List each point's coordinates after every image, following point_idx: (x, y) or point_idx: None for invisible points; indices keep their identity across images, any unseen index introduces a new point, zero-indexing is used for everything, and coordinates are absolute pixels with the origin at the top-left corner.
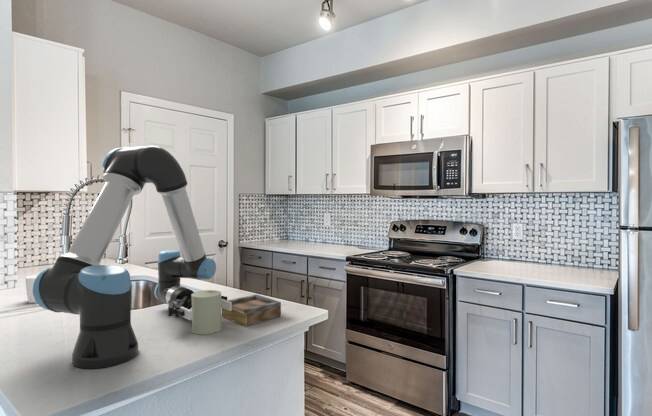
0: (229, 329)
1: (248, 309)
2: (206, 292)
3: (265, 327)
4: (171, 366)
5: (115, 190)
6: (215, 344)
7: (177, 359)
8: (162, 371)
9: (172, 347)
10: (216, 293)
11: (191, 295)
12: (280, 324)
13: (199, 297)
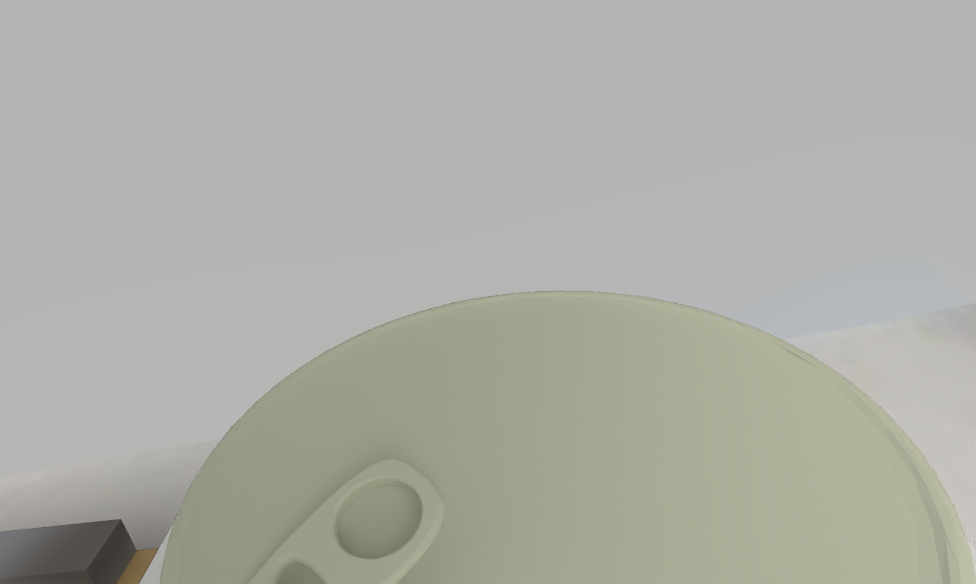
0: None
1: (83, 531)
2: (471, 564)
3: (150, 521)
4: (882, 337)
5: None
6: None
7: (864, 376)
8: (918, 320)
9: None
10: (365, 389)
11: (942, 488)
12: (33, 515)
13: (730, 321)
